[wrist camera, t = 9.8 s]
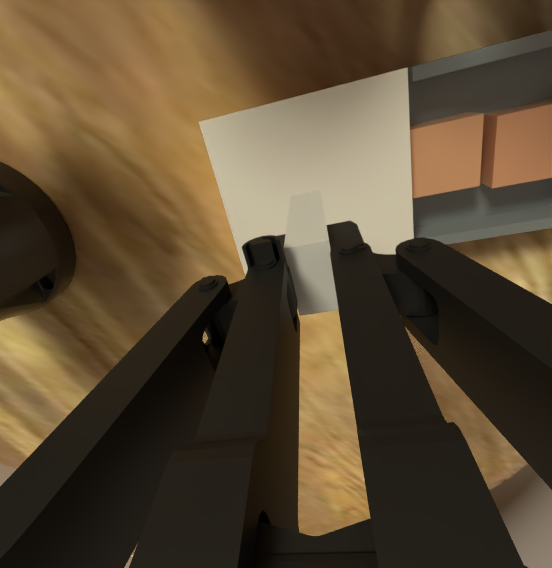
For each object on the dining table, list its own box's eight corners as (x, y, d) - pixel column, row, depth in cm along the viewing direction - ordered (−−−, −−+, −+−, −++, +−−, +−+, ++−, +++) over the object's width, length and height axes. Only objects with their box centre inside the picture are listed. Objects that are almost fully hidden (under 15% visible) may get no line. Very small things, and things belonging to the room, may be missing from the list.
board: (254, 260, 31) (247, 281, 27) (215, 118, 25) (198, 121, 22) (402, 235, 28) (414, 255, 25) (393, 71, 23) (407, 67, 19)
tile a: (402, 190, 26) (410, 198, 24) (399, 127, 24) (407, 130, 21) (465, 178, 25) (479, 185, 23) (468, 111, 23) (483, 113, 21)
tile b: (567, 174, 22) (544, 167, 24) (581, 97, 20) (555, 97, 22) (491, 188, 23) (476, 180, 25) (497, 115, 21) (480, 114, 23)
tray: (408, 234, 28) (417, 248, 25) (401, 69, 22) (412, 66, 20) (564, 209, 26) (592, 221, 23) (599, 17, 20) (641, 6, 18)
